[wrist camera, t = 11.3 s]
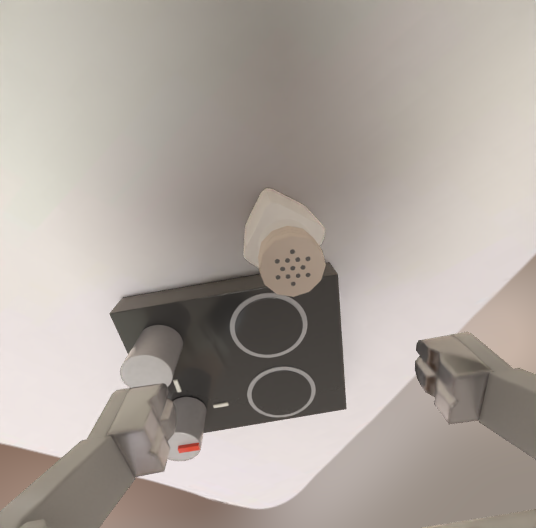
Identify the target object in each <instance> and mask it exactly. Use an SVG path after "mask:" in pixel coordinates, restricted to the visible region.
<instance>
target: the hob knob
mask: <svg viewBox="0 0 536 528" xmlns="http://www.w3.org/2000/svg"><path fill="white" fill-rule="evenodd" d="M173 402H174V404H175V407H176V412H177V422H176V428H175V432H174V434H173V436H172V437H171V438H170V439H169V440H168V444H169V446H170V451H169V455H168V459H169V460H173V461H186V460H189V459H192V458H194V457H195V456H197V455H198V453H199V452H200V450H201V445H202V438H203V432H204V426H205V420H206V413H207V410H206V407H205V405H204V404H203V403H202V402H201V401H200V400H198V399H196V398H192V397H181V398H177V399H175V400H174V401H173Z"/></svg>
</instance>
